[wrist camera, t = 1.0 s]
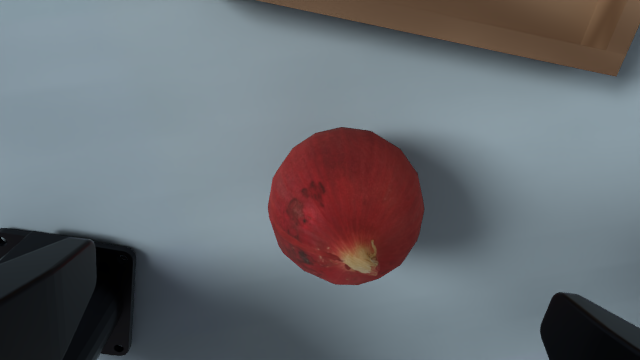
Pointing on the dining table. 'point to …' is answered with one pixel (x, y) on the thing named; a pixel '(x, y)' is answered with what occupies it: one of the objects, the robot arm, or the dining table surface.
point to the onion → (346, 206)
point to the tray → (506, 25)
